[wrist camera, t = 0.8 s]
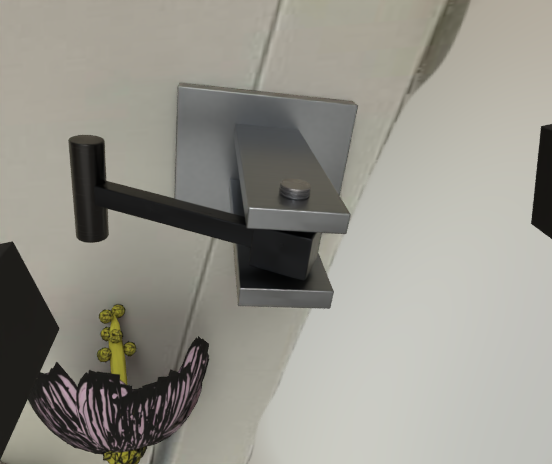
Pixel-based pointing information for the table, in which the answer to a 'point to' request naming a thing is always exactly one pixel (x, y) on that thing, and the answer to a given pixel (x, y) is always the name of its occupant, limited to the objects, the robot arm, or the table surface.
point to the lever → (177, 215)
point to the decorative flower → (118, 400)
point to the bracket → (266, 175)
